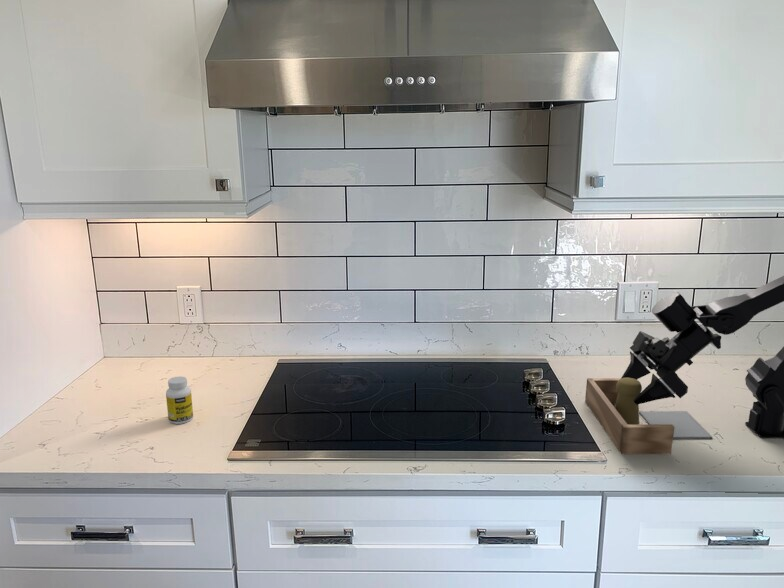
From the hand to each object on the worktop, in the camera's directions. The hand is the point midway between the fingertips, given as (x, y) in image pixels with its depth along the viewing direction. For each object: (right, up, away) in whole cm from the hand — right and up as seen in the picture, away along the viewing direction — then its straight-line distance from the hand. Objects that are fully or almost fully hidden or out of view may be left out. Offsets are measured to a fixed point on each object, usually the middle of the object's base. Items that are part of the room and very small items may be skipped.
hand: (626, 393), depth 137 cm
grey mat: (+11, -7, +2) cm, 14 cm away
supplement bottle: (-100, -7, +6) cm, 100 cm away
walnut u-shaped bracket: (0, -7, +2) cm, 8 cm away
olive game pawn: (0, -8, +2) cm, 8 cm away
